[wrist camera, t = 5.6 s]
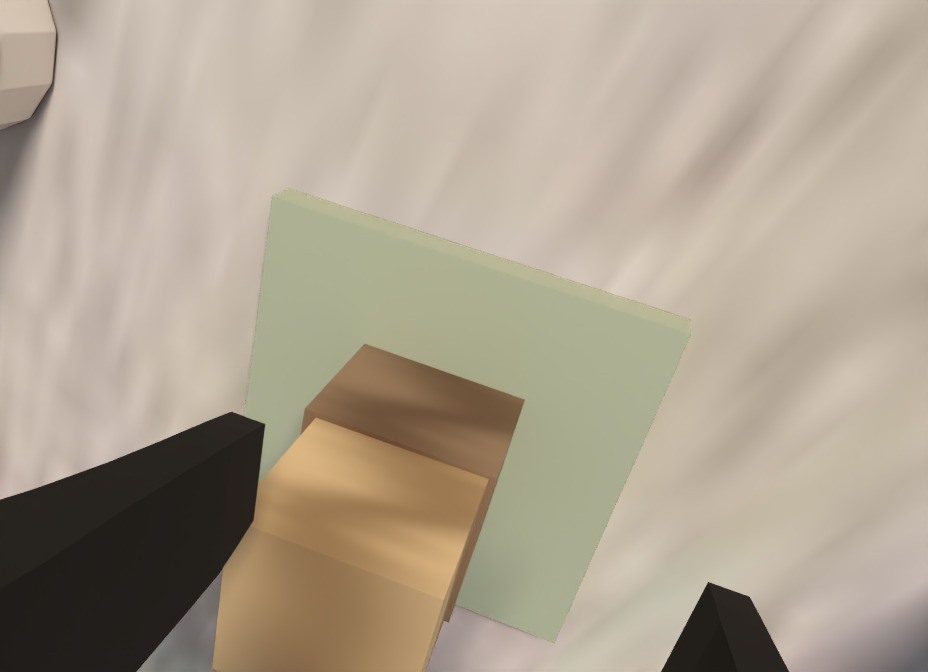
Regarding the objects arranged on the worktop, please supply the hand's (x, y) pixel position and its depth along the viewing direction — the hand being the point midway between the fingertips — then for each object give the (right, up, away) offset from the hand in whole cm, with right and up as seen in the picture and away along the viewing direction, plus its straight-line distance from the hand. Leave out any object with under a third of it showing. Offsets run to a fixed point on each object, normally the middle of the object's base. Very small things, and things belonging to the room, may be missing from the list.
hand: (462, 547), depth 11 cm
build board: (-1, 0, +12) cm, 12 cm away
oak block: (-2, -1, +7) cm, 8 cm away
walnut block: (-1, 0, +11) cm, 11 cm away
